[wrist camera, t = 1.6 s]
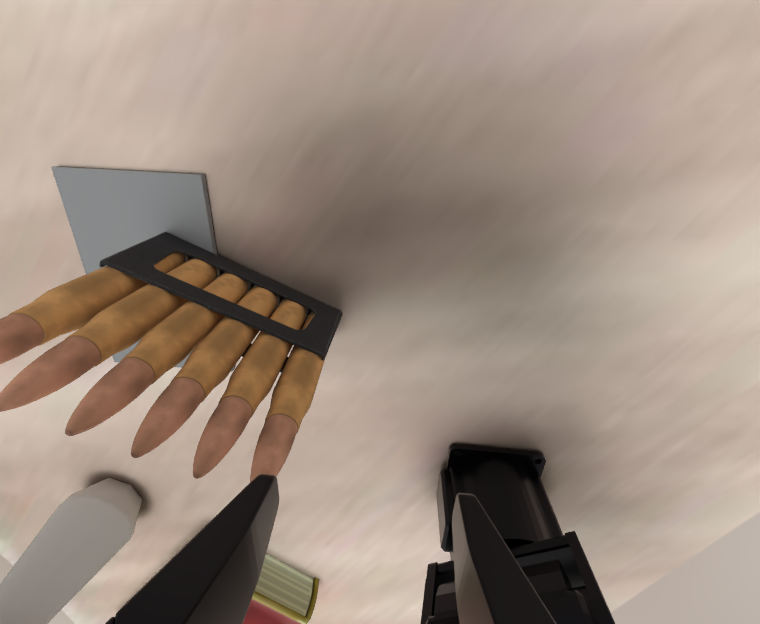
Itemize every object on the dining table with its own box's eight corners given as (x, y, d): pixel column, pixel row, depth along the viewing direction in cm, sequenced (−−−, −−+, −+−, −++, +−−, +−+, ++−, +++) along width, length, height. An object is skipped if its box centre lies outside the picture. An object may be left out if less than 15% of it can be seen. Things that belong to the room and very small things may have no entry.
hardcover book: (321, 574, 33) (310, 629, 29) (217, 647, 41) (197, 698, 37) (211, 513, 31) (183, 565, 27) (122, 604, 38) (90, 654, 35)
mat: (204, 174, 18) (200, 174, 18) (234, 368, 23) (232, 371, 23) (58, 166, 19) (51, 166, 18) (119, 358, 24) (114, 362, 23)
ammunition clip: (343, 312, 21) (296, 487, 10) (331, 336, 22) (275, 524, 11) (164, 230, 19) (-131, 339, 8) (156, 260, 20) (-122, 396, 9)
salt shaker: (161, 493, 29) (-5, 724, 18) (139, 526, 31) (-21, 752, 20) (94, 460, 28) (-132, 682, 16) (76, 497, 30) (-135, 717, 19)
